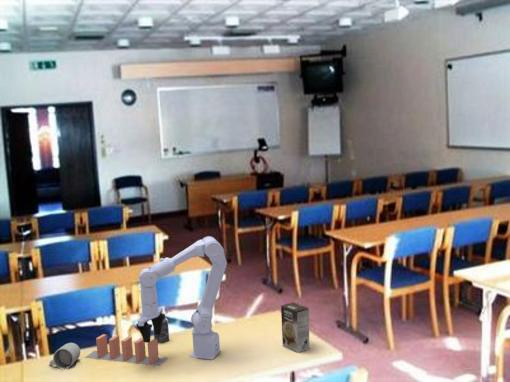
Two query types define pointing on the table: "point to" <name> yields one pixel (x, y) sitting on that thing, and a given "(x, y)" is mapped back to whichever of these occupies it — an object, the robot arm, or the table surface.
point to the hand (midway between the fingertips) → (152, 338)
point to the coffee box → (295, 327)
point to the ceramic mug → (66, 355)
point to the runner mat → (131, 360)
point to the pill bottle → (163, 332)
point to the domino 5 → (153, 351)
